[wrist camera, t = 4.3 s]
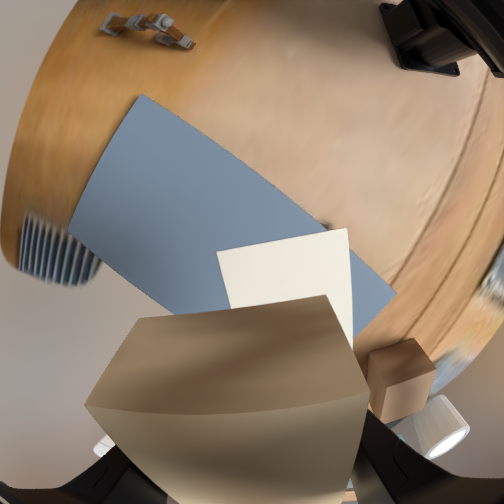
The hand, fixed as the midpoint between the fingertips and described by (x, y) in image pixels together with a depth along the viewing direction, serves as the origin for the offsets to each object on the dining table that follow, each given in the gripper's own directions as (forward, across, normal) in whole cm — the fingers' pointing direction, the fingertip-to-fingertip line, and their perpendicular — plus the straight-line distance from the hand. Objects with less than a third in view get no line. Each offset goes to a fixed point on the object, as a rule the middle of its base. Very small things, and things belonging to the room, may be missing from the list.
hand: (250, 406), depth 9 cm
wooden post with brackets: (+12, +4, -20) cm, 24 cm away
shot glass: (+12, -20, +24) cm, 34 cm away
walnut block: (+12, -12, +12) cm, 21 cm away
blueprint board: (+12, +2, -2) cm, 12 cm away
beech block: (0, 0, 0) cm, 0 cm away
